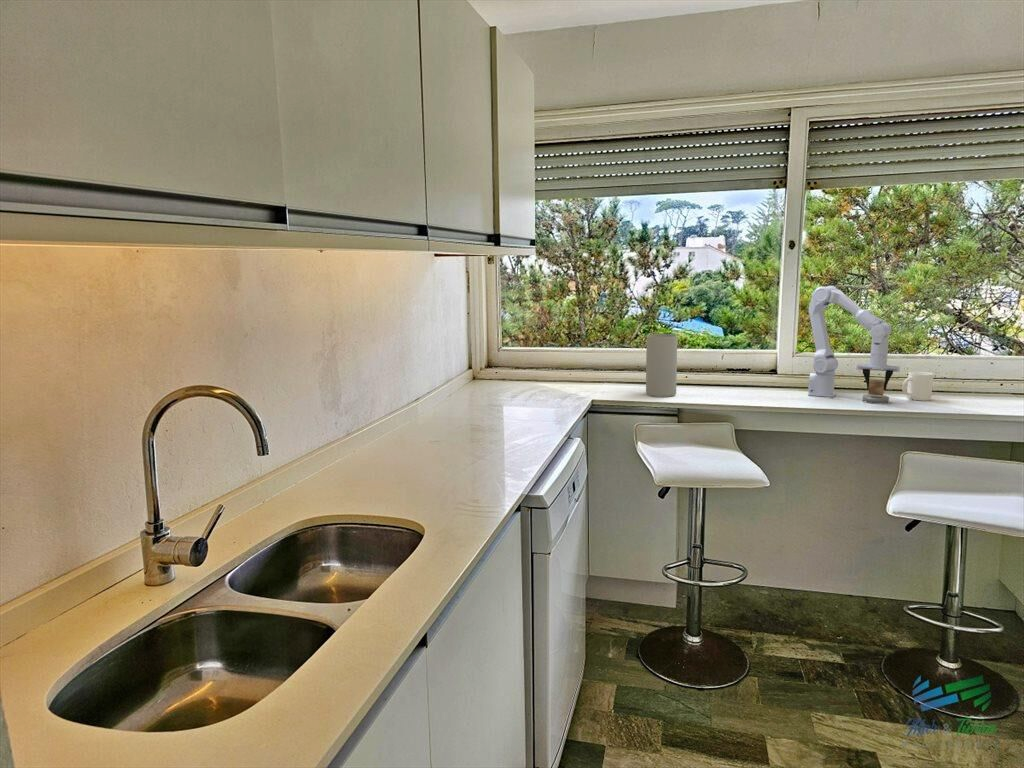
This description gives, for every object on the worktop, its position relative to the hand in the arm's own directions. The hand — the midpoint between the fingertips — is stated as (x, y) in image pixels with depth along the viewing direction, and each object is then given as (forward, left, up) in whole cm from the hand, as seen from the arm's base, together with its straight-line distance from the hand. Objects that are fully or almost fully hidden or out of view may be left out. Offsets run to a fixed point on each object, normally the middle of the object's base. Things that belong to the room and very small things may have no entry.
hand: (876, 389), depth 261 cm
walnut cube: (0, 0, -2) cm, 2 cm away
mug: (+13, +11, -5) cm, 18 cm away
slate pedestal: (0, 0, -5) cm, 5 cm away
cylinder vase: (-79, -20, -5) cm, 82 cm away
